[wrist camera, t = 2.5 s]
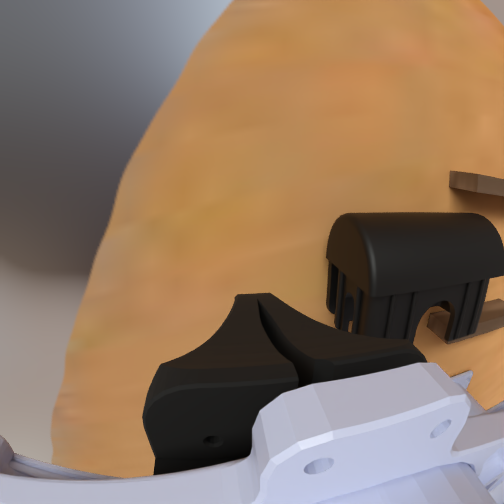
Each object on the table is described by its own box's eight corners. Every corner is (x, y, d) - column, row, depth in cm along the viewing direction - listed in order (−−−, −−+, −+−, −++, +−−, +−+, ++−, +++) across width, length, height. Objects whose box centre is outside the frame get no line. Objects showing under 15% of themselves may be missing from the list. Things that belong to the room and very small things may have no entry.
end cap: (446, 204, 19) (514, 224, 13) (434, 294, 21) (489, 334, 14) (322, 203, 18) (377, 226, 12) (318, 311, 20) (358, 372, 13)
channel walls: (496, 309, 23) (515, 322, 20) (427, 326, 22) (447, 344, 19) (518, 183, 19) (541, 188, 16) (450, 170, 18) (478, 174, 15)
